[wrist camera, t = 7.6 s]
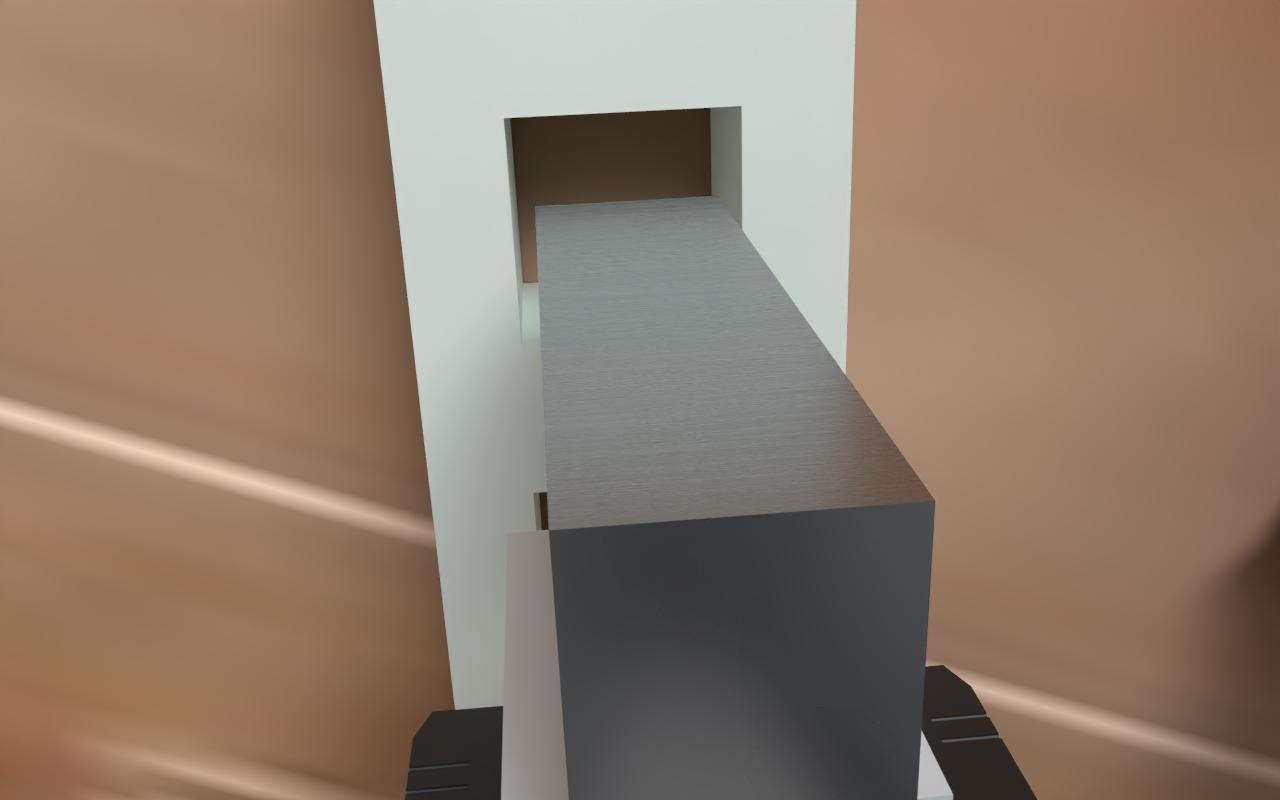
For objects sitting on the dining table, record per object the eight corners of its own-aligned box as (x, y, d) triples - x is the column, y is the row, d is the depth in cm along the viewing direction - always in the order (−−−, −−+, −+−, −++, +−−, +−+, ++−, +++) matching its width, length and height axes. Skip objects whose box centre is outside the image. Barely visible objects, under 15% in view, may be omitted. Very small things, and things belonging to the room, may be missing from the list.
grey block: (535, 206, 21) (549, 529, 10) (718, 195, 21) (934, 500, 10) (571, 713, 25) (610, 1356, 14) (724, 700, 25) (886, 1322, 14)
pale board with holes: (373, -244, 25) (341, -277, 20) (809, -258, 25) (864, -292, 21) (483, 783, 34) (477, 903, 30) (795, 757, 35) (831, 871, 31)
